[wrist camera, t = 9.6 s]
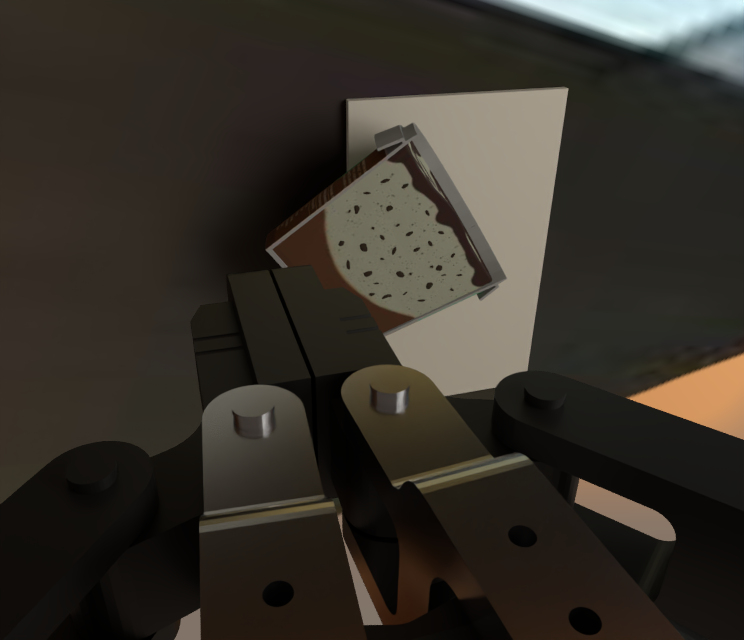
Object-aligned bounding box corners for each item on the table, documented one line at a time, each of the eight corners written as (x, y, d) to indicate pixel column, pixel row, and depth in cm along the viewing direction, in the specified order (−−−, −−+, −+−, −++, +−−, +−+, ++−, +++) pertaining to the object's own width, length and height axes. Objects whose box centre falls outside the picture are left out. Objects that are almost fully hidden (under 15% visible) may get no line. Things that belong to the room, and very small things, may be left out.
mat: (348, 408, 51) (350, 412, 51) (346, 99, 40) (348, 101, 40) (522, 378, 55) (525, 382, 55) (564, 86, 44) (568, 88, 44)
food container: (355, 302, 49) (482, 228, 47) (369, 363, 45) (510, 284, 42) (245, 173, 42) (389, 78, 39) (248, 230, 37) (412, 125, 35)
